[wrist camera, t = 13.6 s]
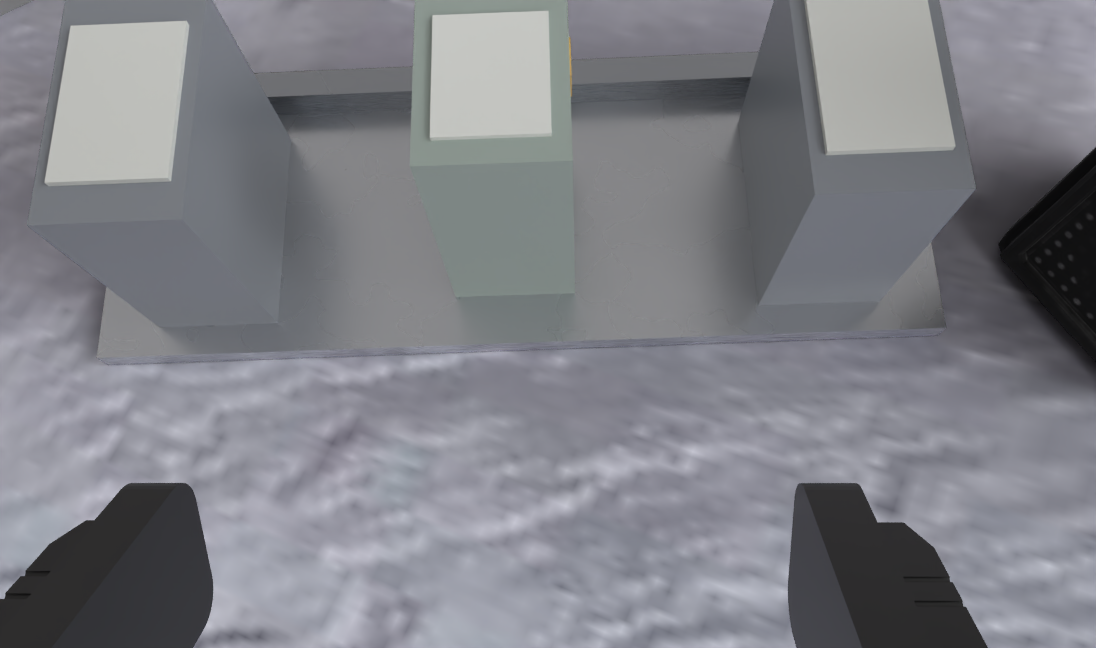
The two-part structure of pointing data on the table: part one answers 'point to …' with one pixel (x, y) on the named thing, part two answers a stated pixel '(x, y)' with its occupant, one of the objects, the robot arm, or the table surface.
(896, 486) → the table surface
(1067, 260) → the portable radio
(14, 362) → the table surface
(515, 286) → the block
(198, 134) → the mounted modules
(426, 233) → the rail
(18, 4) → the grey flat block
